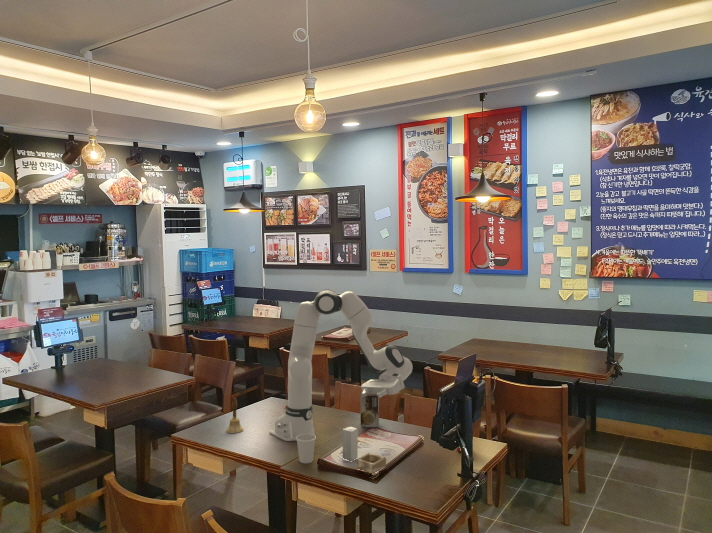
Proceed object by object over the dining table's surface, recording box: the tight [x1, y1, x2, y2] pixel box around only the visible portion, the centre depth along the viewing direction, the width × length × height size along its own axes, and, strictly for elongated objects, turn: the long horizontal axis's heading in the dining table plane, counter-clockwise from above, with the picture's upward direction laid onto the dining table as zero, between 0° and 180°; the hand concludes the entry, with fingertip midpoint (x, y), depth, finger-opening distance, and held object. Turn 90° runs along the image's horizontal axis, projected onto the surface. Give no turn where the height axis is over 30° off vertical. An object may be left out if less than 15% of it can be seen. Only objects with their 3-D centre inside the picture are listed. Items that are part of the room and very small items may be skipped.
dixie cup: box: [296, 434, 317, 464], centre depth 218 cm, size 8×8×10 cm
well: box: [356, 452, 387, 473], centre depth 210 cm, size 8×8×4 cm
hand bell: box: [225, 397, 244, 434], centre depth 254 cm, size 8×8×16 cm
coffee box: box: [359, 391, 380, 428], centre depth 262 cm, size 9×6×16 cm
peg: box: [342, 426, 359, 462], centre depth 220 cm, size 4×4×13 cm
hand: (370, 395), depth 232 cm, fingers open, 8 cm apart
